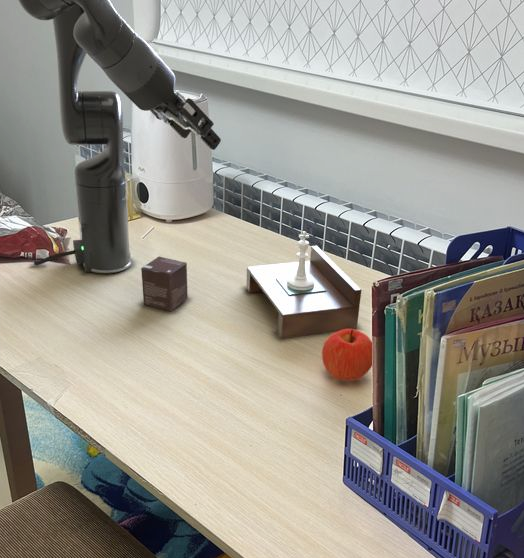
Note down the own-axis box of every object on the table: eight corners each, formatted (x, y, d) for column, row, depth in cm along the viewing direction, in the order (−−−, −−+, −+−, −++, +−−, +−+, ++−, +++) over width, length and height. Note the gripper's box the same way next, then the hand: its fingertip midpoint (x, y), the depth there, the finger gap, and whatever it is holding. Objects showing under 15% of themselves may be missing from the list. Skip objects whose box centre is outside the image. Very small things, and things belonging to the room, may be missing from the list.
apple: (368, 361, 111) (374, 317, 107) (374, 389, 104) (381, 343, 100) (318, 359, 111) (322, 315, 107) (321, 387, 104) (326, 341, 100)
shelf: (281, 338, 116) (283, 298, 113) (246, 288, 133) (247, 251, 129) (356, 328, 120) (361, 289, 117) (313, 280, 137) (316, 245, 133)
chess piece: (285, 278, 126) (288, 226, 121) (311, 278, 126) (316, 226, 121) (288, 290, 122) (291, 237, 117) (316, 290, 122) (320, 237, 117)
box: (188, 299, 128) (188, 262, 124) (171, 312, 123) (170, 274, 119) (160, 291, 130) (159, 255, 126) (142, 304, 125) (140, 267, 121)
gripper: (178, 57, 98) (240, 130, 110) (128, 44, 108) (191, 112, 120) (147, 99, 98) (213, 168, 110) (100, 82, 107) (166, 147, 120)
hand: (201, 139), depth 115 cm, fingers open, 8 cm apart
